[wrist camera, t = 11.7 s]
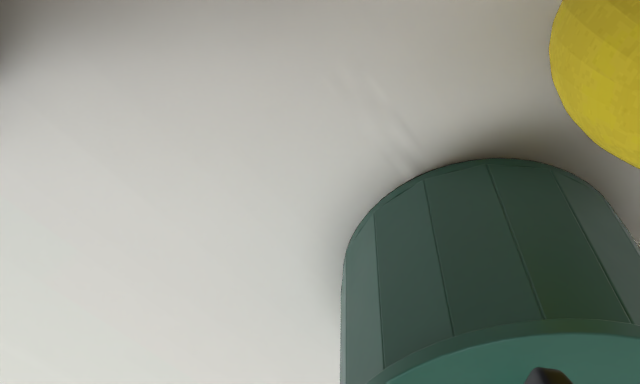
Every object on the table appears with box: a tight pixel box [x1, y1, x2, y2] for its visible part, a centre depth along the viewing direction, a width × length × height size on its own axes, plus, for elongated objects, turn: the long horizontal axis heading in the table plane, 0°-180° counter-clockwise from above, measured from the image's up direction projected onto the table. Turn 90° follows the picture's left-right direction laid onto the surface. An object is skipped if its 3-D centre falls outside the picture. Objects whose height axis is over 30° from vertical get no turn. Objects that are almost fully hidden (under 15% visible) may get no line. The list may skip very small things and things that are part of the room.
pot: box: [340, 158, 640, 384], centre depth 21 cm, size 11×11×8 cm
